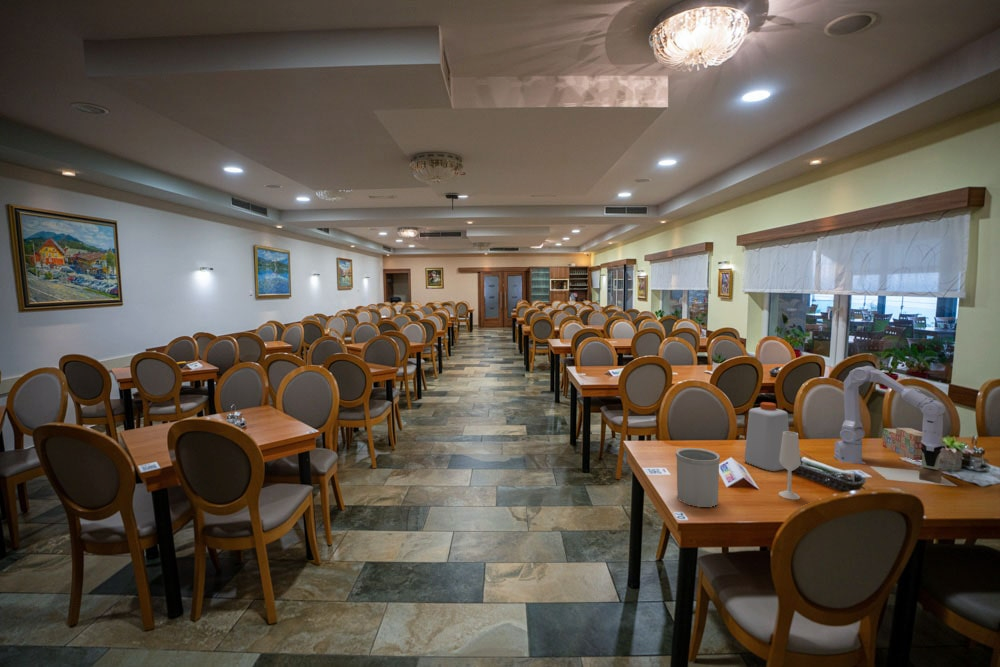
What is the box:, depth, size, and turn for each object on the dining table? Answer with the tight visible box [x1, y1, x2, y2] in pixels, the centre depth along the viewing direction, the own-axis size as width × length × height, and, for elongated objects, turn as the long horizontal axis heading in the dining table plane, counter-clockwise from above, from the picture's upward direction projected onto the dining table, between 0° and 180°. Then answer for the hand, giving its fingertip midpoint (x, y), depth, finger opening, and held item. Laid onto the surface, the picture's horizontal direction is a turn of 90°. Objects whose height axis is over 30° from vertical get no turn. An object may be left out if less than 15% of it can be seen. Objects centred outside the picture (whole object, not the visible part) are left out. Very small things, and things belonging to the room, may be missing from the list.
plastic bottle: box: [744, 401, 790, 472], centre depth 192 cm, size 15×15×28 cm
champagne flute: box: [778, 430, 802, 500], centre depth 161 cm, size 7×7×24 cm
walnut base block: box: [918, 464, 943, 485], centre depth 173 cm, size 6×6×4 cm
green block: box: [921, 454, 940, 470], centre depth 172 cm, size 5×5×5 cm
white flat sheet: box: [869, 466, 958, 487], centre depth 177 cm, size 22×15×1 cm
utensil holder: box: [675, 447, 721, 508], centre depth 159 cm, size 15×15×18 cm
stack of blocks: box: [882, 427, 923, 461], centre depth 203 cm, size 21×6×12 cm, turn 168°
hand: (930, 464), depth 172 cm, fingers closed on green block, 5 cm apart
